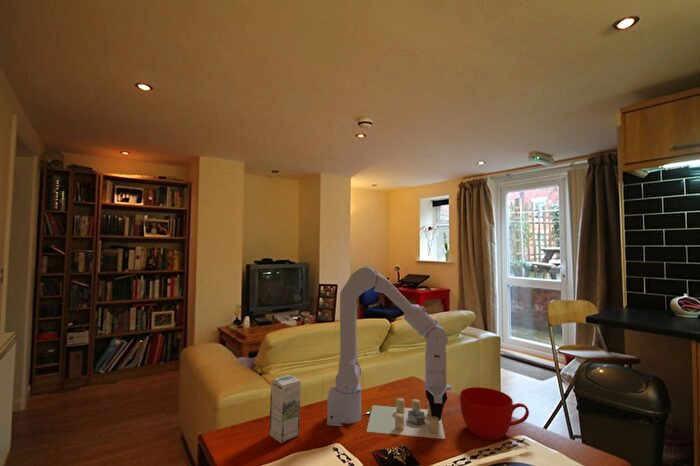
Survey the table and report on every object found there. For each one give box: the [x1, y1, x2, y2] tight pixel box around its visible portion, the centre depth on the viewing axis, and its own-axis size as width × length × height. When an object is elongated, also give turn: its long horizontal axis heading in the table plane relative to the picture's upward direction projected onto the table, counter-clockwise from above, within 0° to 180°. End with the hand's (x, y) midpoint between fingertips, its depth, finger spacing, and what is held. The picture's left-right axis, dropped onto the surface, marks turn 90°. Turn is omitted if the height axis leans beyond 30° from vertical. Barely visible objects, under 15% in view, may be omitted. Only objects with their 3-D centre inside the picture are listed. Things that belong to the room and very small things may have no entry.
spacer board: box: [366, 397, 446, 440], centre depth 96 cm, size 20×16×4 cm
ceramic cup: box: [459, 386, 530, 441], centre depth 90 cm, size 13×17×10 cm
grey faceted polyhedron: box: [408, 410, 425, 426], centre depth 96 cm, size 5×4×2 cm
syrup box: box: [268, 374, 302, 444], centre depth 90 cm, size 6×6×14 cm
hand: (436, 419), depth 95 cm, fingers closed
